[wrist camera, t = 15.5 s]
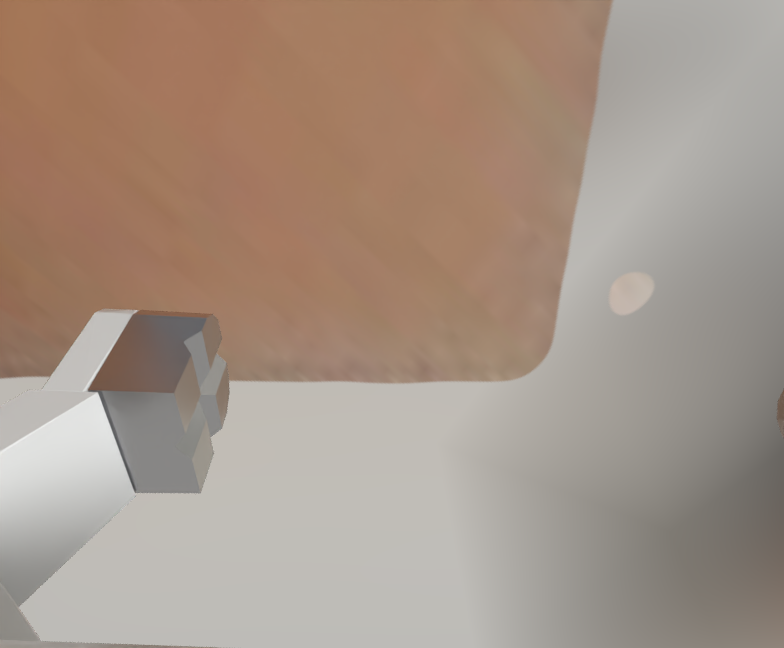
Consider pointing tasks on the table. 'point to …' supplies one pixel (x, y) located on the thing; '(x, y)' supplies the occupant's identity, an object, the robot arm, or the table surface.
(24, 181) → the table surface
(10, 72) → the table surface
